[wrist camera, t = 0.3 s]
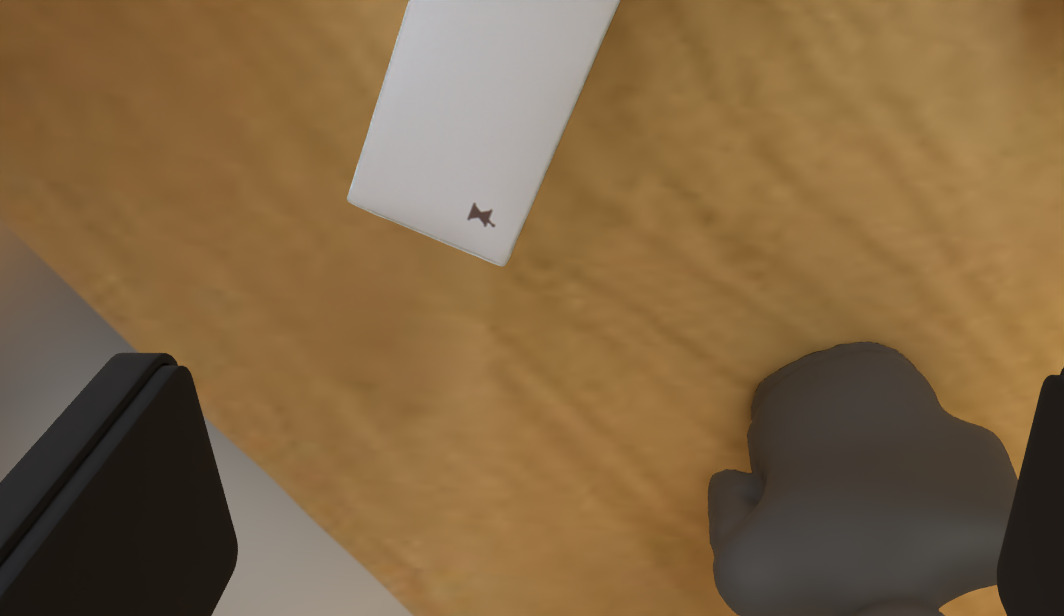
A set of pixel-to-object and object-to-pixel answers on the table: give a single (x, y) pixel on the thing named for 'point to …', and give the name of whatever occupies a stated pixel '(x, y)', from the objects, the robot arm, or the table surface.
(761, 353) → the table surface
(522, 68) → the skincare box
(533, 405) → the table surface
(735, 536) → the figurine
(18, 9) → the table surface
